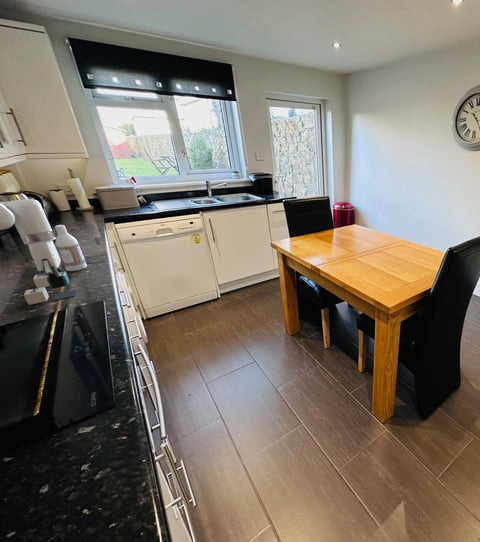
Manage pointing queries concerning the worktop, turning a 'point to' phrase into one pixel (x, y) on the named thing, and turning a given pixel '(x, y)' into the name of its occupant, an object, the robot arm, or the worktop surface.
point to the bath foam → (69, 250)
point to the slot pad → (63, 295)
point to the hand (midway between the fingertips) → (60, 283)
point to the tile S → (64, 277)
